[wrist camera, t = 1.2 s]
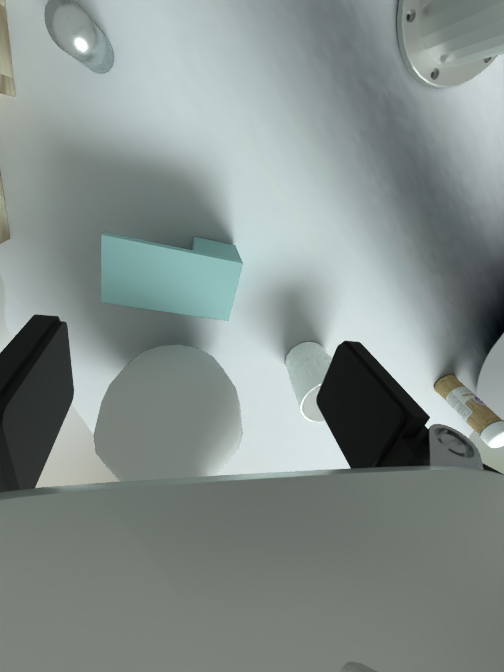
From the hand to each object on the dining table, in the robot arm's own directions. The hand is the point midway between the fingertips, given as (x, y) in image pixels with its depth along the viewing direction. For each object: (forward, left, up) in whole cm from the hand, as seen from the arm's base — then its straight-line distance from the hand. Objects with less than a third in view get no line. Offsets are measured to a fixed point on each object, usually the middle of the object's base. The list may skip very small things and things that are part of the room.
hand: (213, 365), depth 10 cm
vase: (+22, +1, -28) cm, 36 cm away
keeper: (+6, -2, -28) cm, 29 cm away
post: (-11, -10, -28) cm, 32 cm away
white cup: (+18, +21, -29) cm, 40 cm away
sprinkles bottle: (+20, +52, -28) cm, 62 cm away
